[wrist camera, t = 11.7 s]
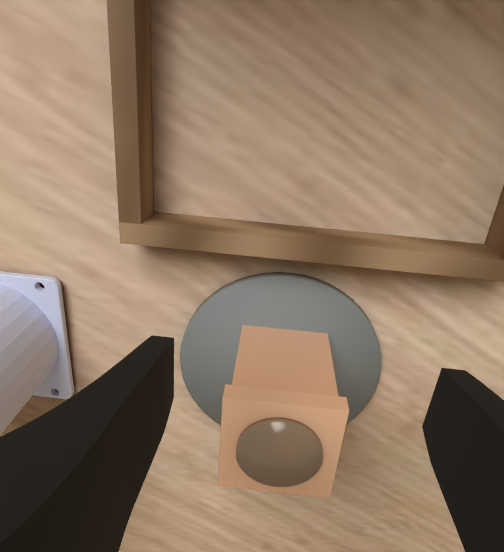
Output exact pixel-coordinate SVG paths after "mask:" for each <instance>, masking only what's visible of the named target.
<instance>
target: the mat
mask: <svg viewBox="0 0 504 552" xmlns="http://www.w3.org/2000/svg"><path fill="white" fill-rule="evenodd" d="M242 325H249V326H259V327H268V328H278V329H288V330H298V331H307V332H317V333H327V334H328V337H329V343H330V349H331V355H332V361H333V367H334V373H335V378H336V384H337V390H338V396H340V397H347V402H348V407H349V414H348V419H347V423H349V422H350V421H351V420H352V419H354V418H355V417H356V416H357V415H358V414H359V413H360V412H361V411H362V410H363V409H364V408H365V406H366V405H367V403H368V402H369V401H370V399H371V397H372V395H373V394H374V392H375V390H376V387H377V384H378V381H379V377H380V372H381V353H380V346H379V343H378V340H377V337H376V334H375V331H374V329H373V327H372V325H371V323H370V321H369V319H368V317H367V316H366V315H365V313H364V312H363V310H362V309H361V308H360V307H359V306H358V305H357V304H356V303H355V302H354V301H353V299H351V298H350V297H349V296H347V295H346V294H345V293H344V292H342V291H341V290H339V289H337V288H336V287H334V286H332V285H331V284H328V283H326V282H324V281H321V280H319V279H316V278H313V277H309V276H306V275H300V274H294V273H282V272H273V273H262V274H257V275H252V276H248V277H245V278H242V279H239V280H236V281H234V282H232V283H229V284H227V285H225V286H223V287H222V288H220V289H219V290H217V291H216V292H214V293H213V294H212V295H211V296H210V297H208V298H207V299H206V300H205V301H204V302H203V303H202V304H201V305H200V307H199V308H198V309H197V310H196V312H195V313H194V315H193V317H192V318H191V320H190V322H189V324H188V327H187V329H186V331H185V334H184V337H183V341H182V345H181V352H180V364H181V371H182V376H183V379H184V382H185V384H186V387H187V389H188V391H189V393H190V395H191V396H192V398H193V399H194V401H195V402H196V403H197V405H198V406H199V407H200V408H201V409H202V410H203V411H204V412H205V413H206V414H207V415H208V416H209V417H210V418H211V419H213V420H214V421H215V422H217V423H218V424H220V425H221V417H222V400H223V393H224V388H225V384H228V385H232V381H233V375H234V370H235V364H236V358H237V353H238V347H239V341H240V336H241V330H242ZM347 423H346V424H347Z"/></svg>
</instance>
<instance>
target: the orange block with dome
mask: <svg viewBox="0 0 504 552" xmlns="http://www.w3.org/2000/svg"><path fill="white" fill-rule="evenodd" d="M348 414H349V407H348V402H347V397H340V396H338V390H337V384H336V378H335V373H334V367H333V361H332V355H331V349H330V343H329V337H328V334H327V333H317V332H307V331H298V330H288V329H278V328H268V327H259V326H249V325H242V330H241V336H240V341H239V347H238V353H237V358H236V364H235V370H234V375H233V381H232V385H228V384H225V388H224V393H223V400H222V417H221V434H220V451H219V468H218V486H227V487H236V488H244V489H253V490H262V491H270V492H279V493H288V494H296V495H305V496H313V497H322V498H330V495H331V491H332V486H333V482H334V477H335V473H336V468H337V464H338V459H339V455H340V450H341V446H342V441H343V437H344V432H345V428H346V423H347V419H348Z"/></svg>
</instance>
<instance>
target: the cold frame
mask: <svg viewBox="0 0 504 552" xmlns="http://www.w3.org/2000/svg"><path fill="white" fill-rule="evenodd" d="M107 12H108V30H109V49H110V67H111V85H112V103H113V121H114V139H115V158H116V176H117V194H118V212H119V230H120V243H124V244H134V245H144V246H154V247H164V248H174V249H184V250H194V251H204V252H214V253H224V254H234V255H243V256H253V257H263V258H273V259H283V260H293V261H303V262H313V263H323V264H333V265H343V266H353V267H363V268H373V269H383V270H393V271H402V272H412V273H422V274H432V275H442V276H452V277H462V278H472V279H482V280H492V281H502V282H504V187H503V190H502V193H501V196H500V199H499V202H498V205H497V208H496V212H495V215H494V218H493V221H492V224H491V227H490V230H489V233H488V236H487V239H486V242H485V244H476V243H465V242H455V241H445V240H435V239H425V238H414V237H404V236H394V235H384V234H373V233H363V232H353V231H343V230H333V229H322V228H312V227H302V226H292V225H282V224H271V223H261V222H251V221H241V220H230V219H220V218H210V217H200V216H190V215H179V214H169V213H159V212H154V197H153V145H152V92H151V39H150V0H107Z"/></svg>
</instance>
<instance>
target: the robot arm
mask: <svg viewBox="0 0 504 552" xmlns="http://www.w3.org/2000/svg"><path fill="white" fill-rule="evenodd" d="M39 283H42V284H43V285H44V287H45V288H42V287H41V286H39ZM55 389H57V390H58V391H56V390H55ZM73 393H74V385H73V377H72V369H71V361H70V352H69V344H68V336H67V328H66V320H65V312H64V304H63V295H62V287H61V284H60V282H59V281H58V280H57V279H56V278H54V277H50V276H40V275H31V274H21V273H11V272H2V271H0V435H1V434H2V433H3V431H4V430H5V429H6V428H7V426H8V425H9V424H10V423H11V421H12V420H13V419H14V418H15V417H16V415H17V414H18V413H19V412H20V410H21V409H22V408H23V407H24V405H25V404H26V403H27V402H28V400H29V399H30V398H31V397H32V396H41V397H50V398H59V399H68V400H67V401H65V402H63V403H62V404H60V405H59V406H57V407H55V408H54V409H52V410H50V411H49V412H47V413H45V414H43V415H42V416H40V417H38V418H36V419H35V420H33V421H31V422H29V423H27V424H26V425H24V426H22V427H20V428H18V429H16V430H14V431H12V432H10V433H8V434H6V435H4V436H2V437H0V552H118V551H119V548H120V545H121V541H122V538H123V535H124V532H125V528H126V525H127V523H128V520H129V517H130V515H131V512H132V509H133V507H134V504H135V502H136V499H137V497H138V494H139V492H140V490H141V487H142V485H143V482H144V480H145V477H146V475H147V473H148V470H149V468H150V465H151V463H152V461H153V458H154V456H155V453H156V451H157V448H158V446H159V443H160V441H161V438H162V436H163V433H164V431H165V427H166V424H167V420H168V417H169V413H170V409H171V405H172V402H173V398H174V338H170V337H161V336H151V337H149V338H148V339H147V340H146V341H144V342H143V343H142V344H141V345H139V346H138V347H137V348H136V349H135V350H133V351H132V352H131V353H130V354H128V355H127V356H126V357H125V358H124V359H122V360H121V361H120V362H119V363H117V364H116V365H115V366H114V367H112V368H111V369H110V370H108V371H107V372H106V373H105V374H103V375H102V376H101V377H99V378H98V379H97V380H95V381H94V382H93V383H91V384H90V385H88V386H87V387H85V388H84V389H83V390H81V391H80V392H78V393H77V394H76V395H74V396H73V397H71V396H72V395H73ZM70 397H71V398H70ZM69 398H70V399H69ZM422 427H423V432H424V436H425V441H426V445H427V449H428V453H429V457H430V461H431V464H432V467H433V470H434V472H435V475H436V478H437V480H438V483H439V485H440V488H441V491H442V493H443V496H444V498H445V501H446V503H447V506H448V509H449V511H450V514H451V516H452V519H453V521H454V524H455V526H456V529H457V532H458V534H459V537H460V539H461V542H462V544H463V547H464V549H465V552H504V400H503V399H501V398H500V397H499V396H498V395H496V394H495V393H494V392H493V391H491V390H490V389H489V388H488V387H486V386H485V385H484V384H483V383H481V382H480V381H479V380H478V379H476V378H475V377H474V376H472V375H471V374H469V373H468V372H467V371H465V370H456V369H447V368H442V369H441V372H440V375H439V378H438V381H437V384H436V387H435V390H434V393H433V396H432V399H431V402H430V405H429V408H428V411H427V414H426V417H425V420H424V423H423V426H422Z"/></svg>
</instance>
